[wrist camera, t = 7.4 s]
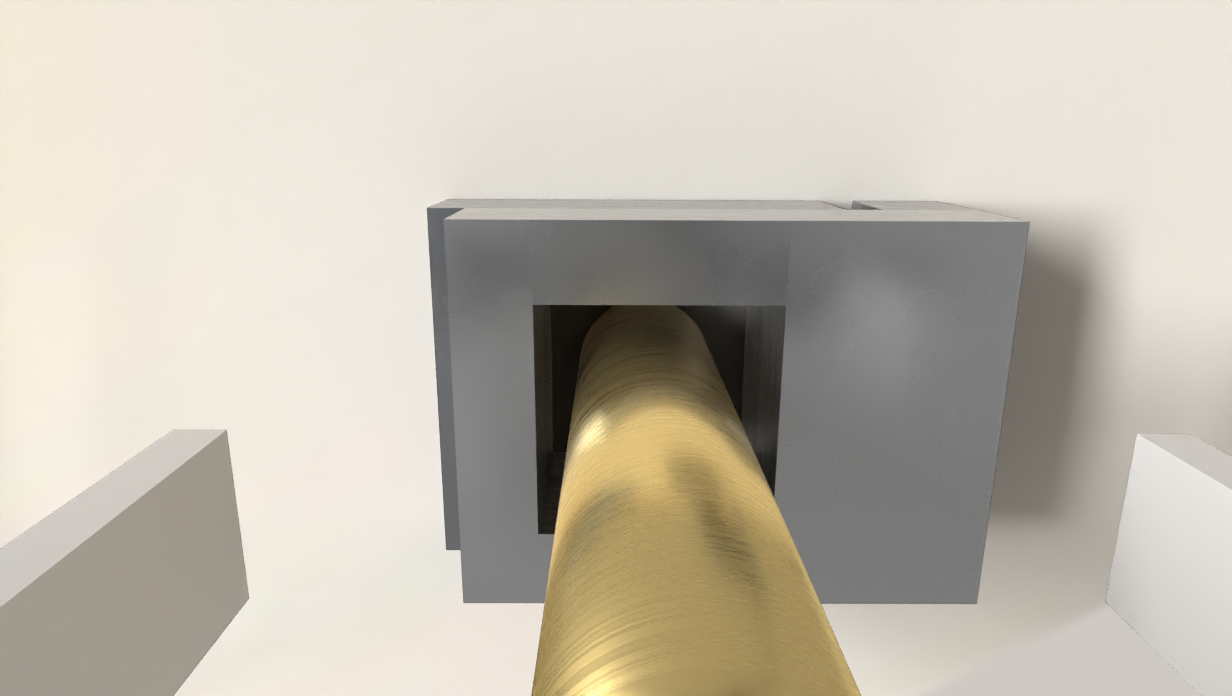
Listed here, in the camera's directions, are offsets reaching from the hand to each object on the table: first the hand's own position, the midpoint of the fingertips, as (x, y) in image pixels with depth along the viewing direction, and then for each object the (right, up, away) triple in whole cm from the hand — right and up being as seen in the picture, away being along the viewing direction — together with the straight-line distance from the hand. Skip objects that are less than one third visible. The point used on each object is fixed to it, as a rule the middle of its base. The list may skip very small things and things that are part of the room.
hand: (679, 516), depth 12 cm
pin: (0, +2, +8) cm, 9 cm away
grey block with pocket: (+1, +2, +8) cm, 9 cm away
